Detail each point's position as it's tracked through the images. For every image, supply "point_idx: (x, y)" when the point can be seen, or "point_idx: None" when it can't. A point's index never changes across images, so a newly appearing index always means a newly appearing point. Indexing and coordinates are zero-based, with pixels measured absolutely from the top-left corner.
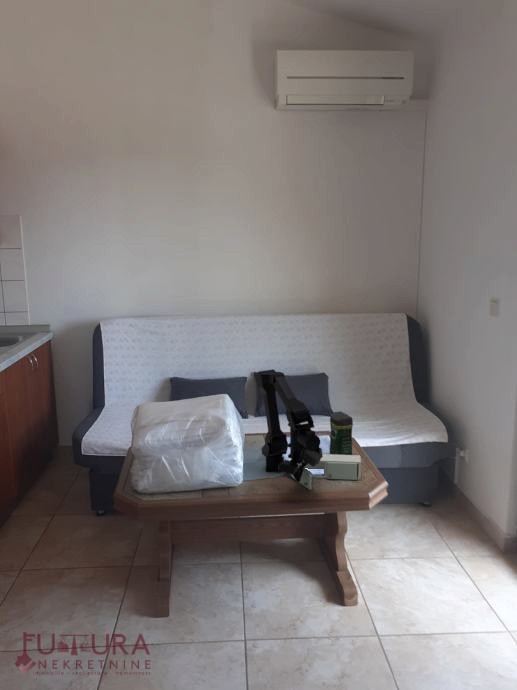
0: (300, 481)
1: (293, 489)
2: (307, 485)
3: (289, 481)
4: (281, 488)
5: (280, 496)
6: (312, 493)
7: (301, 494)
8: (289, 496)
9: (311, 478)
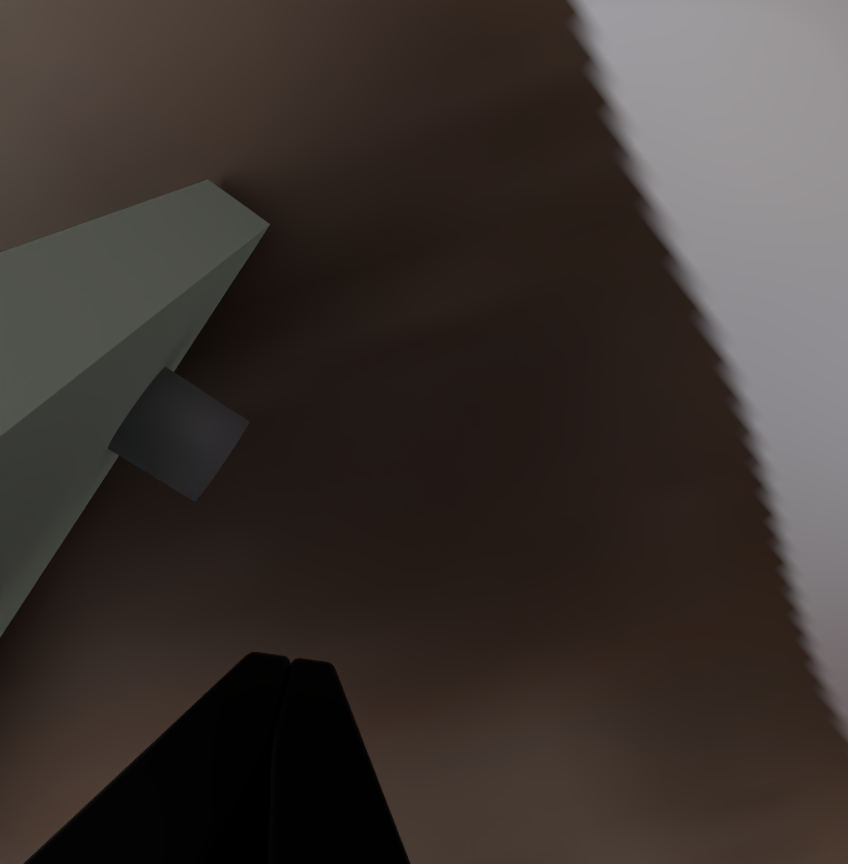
0: (8, 612)
1: (398, 629)
2: (179, 346)
3: (63, 807)
4: (451, 846)
5: (821, 765)
6: (430, 65)
7: (598, 370)
8: (782, 606)
9: (35, 242)
